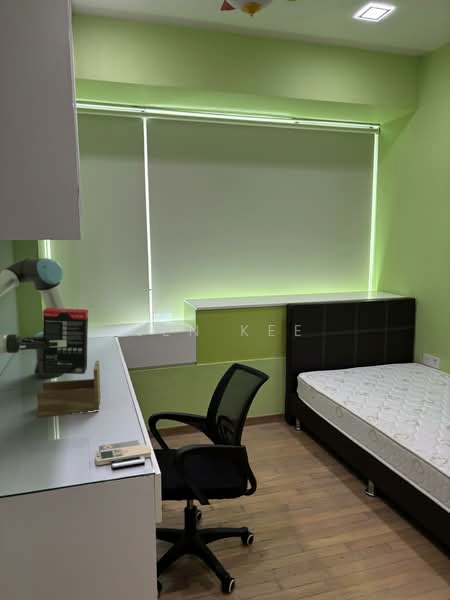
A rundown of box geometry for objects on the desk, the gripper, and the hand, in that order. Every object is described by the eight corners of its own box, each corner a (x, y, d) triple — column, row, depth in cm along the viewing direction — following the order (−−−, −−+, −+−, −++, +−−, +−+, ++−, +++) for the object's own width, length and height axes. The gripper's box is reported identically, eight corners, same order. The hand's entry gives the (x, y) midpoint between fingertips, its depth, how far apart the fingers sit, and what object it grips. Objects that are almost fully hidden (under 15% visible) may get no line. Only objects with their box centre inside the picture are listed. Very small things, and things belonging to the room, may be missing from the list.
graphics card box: (88, 369, 186) (88, 307, 180) (85, 375, 179) (86, 311, 174) (46, 368, 183) (46, 306, 178) (42, 374, 176) (41, 310, 171)
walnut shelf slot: (44, 404, 185) (42, 364, 182) (100, 399, 190) (99, 360, 188) (38, 417, 171) (35, 373, 169) (98, 411, 177) (97, 369, 174)
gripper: (14, 347, 183) (71, 344, 188) (1, 359, 165) (64, 355, 169) (13, 330, 182) (70, 328, 187) (0, 340, 164) (63, 337, 169)
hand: (67, 341), depth 178 cm, fingers closed on graphics card box, 6 cm apart
